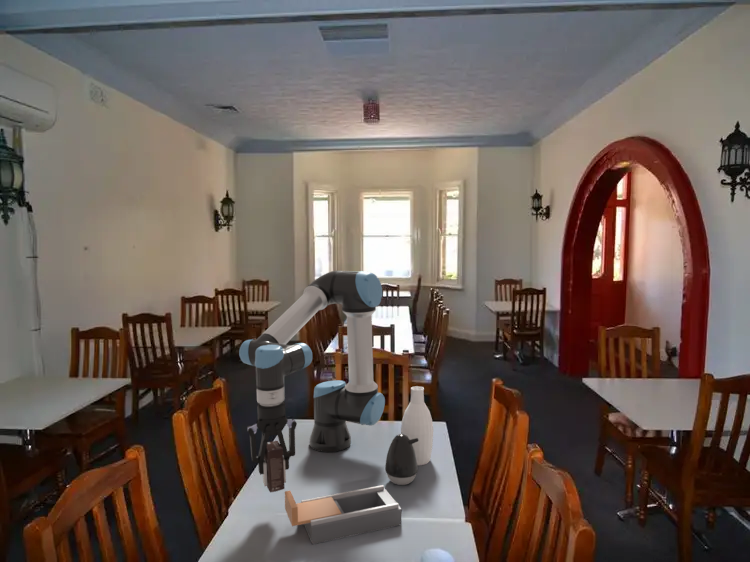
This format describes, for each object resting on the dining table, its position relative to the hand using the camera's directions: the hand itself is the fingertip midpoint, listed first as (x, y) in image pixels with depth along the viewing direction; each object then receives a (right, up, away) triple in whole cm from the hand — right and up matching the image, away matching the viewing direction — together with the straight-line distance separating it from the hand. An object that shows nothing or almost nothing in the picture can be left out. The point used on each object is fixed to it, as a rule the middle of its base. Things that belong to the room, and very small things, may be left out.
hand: (274, 482), depth 147 cm
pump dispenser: (+37, -7, +19) cm, 42 cm away
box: (0, -1, 0) cm, 1 cm away
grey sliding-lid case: (+21, -9, -4) cm, 24 cm away
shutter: (+12, -5, -8) cm, 15 cm away
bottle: (+43, -6, +34) cm, 55 cm away
